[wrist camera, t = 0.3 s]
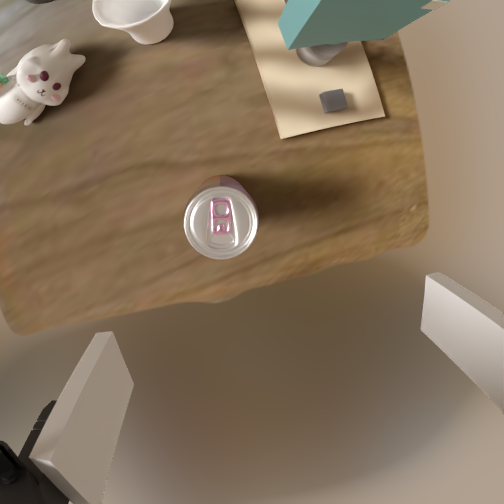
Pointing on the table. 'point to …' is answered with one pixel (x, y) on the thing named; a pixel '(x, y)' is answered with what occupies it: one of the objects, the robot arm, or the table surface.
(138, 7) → the cup
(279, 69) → the post base
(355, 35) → the teal rectangular panel
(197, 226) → the beverage can
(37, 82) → the white ceramic figurine
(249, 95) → the table surface
